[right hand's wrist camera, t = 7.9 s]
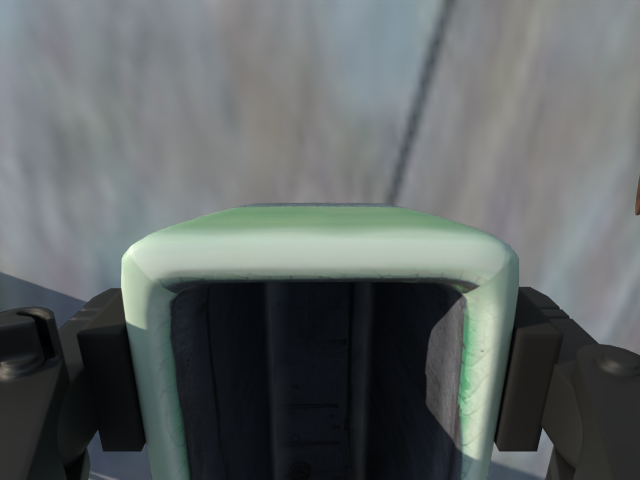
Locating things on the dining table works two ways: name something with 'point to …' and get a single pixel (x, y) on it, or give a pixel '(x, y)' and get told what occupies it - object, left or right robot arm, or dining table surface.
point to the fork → (638, 200)
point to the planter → (320, 343)
